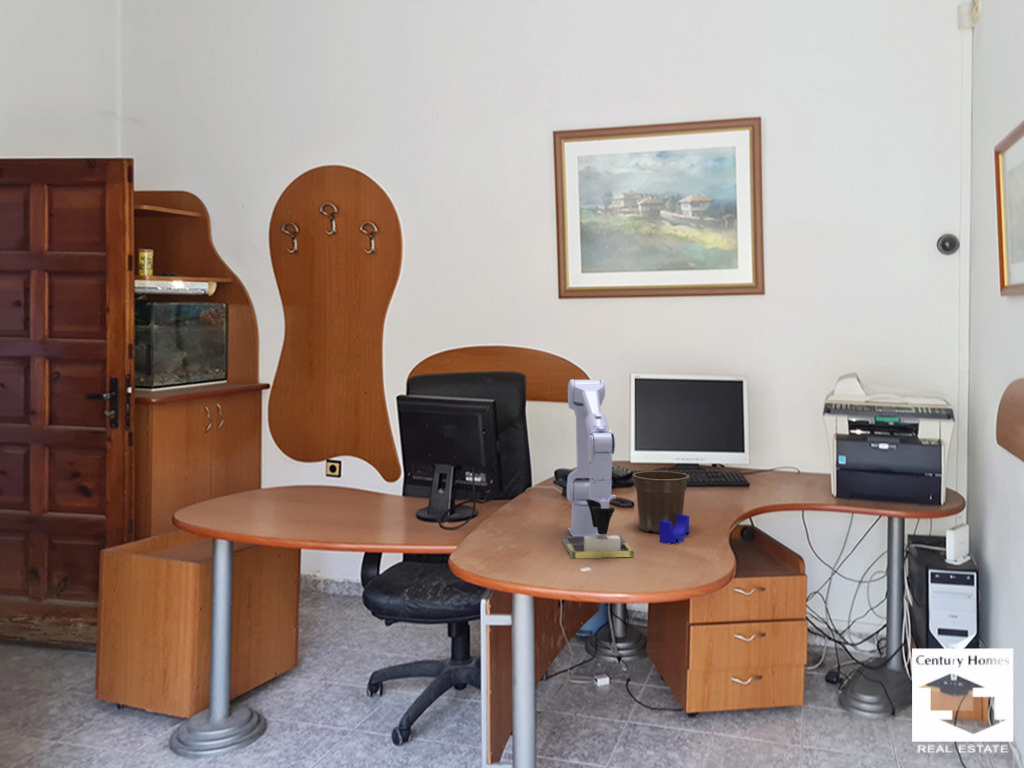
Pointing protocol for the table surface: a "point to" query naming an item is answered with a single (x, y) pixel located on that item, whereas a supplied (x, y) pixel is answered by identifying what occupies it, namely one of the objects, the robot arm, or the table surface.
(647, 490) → the plant pot
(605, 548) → the white banded pillar
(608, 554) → the rack
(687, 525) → the cable clip
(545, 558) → the table surface
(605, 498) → the robot arm
